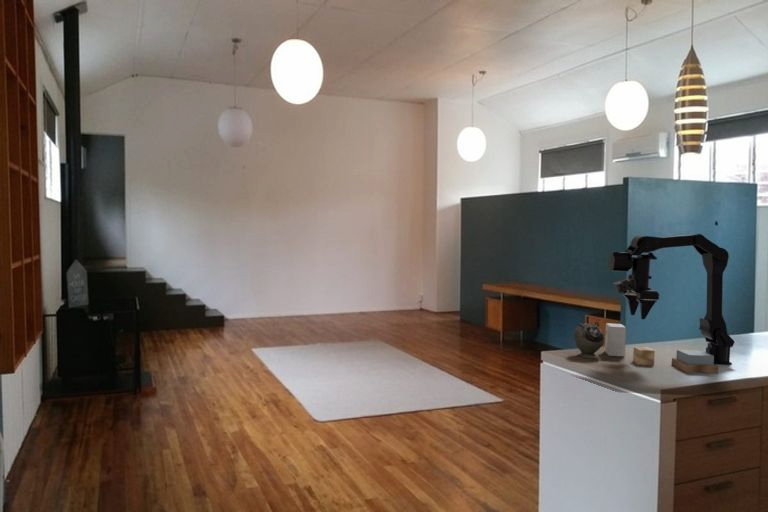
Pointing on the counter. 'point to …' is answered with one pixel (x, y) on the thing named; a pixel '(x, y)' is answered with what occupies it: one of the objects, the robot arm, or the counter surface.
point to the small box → (615, 339)
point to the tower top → (695, 357)
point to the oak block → (643, 355)
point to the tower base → (695, 367)
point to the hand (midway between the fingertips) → (637, 317)
